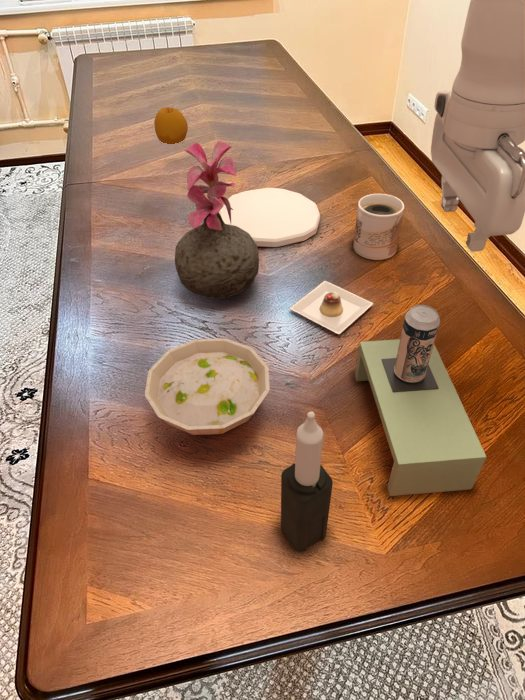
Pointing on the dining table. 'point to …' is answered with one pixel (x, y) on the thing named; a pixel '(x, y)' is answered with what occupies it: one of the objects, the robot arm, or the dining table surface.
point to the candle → (306, 490)
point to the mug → (378, 226)
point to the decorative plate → (273, 216)
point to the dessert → (331, 307)
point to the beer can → (416, 343)
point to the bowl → (207, 385)
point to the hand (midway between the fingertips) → (460, 227)
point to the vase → (214, 234)
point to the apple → (170, 125)
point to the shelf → (421, 424)
